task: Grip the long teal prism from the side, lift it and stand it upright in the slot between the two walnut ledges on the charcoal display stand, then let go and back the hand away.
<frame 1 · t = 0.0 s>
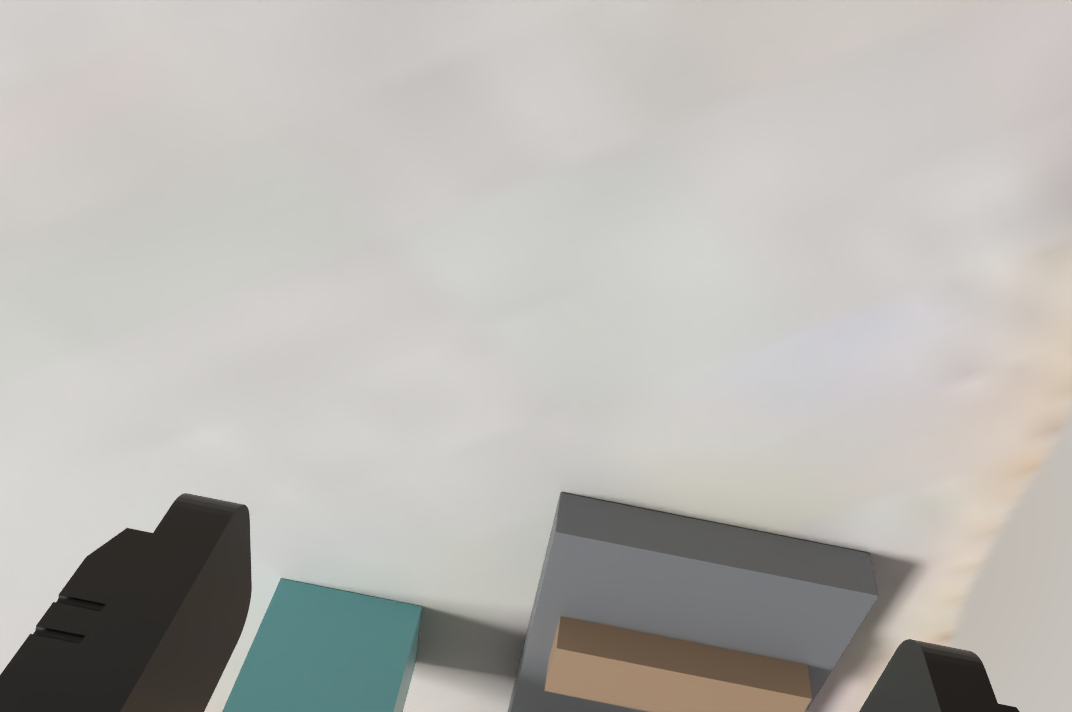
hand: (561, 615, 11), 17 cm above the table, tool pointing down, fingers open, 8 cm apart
display stand: (649, 681, 41), on the table
long teal prism: (350, 621, 41), on the table
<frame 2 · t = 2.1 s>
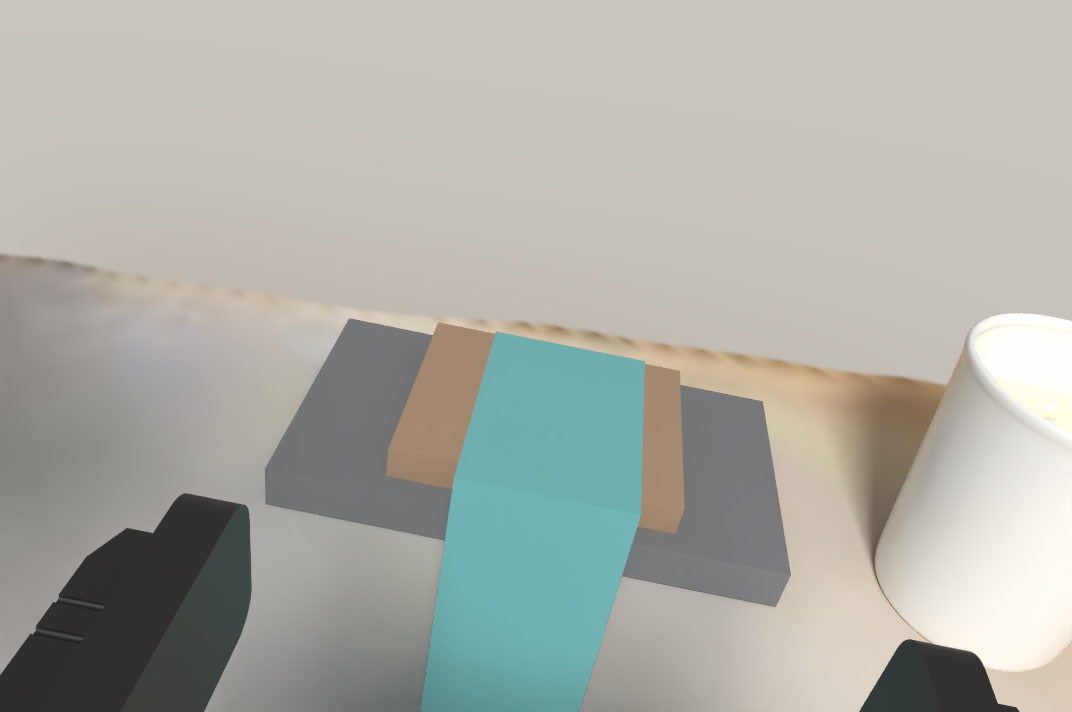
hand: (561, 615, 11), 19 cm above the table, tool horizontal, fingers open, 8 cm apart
display stand: (536, 463, 43), on the table
candle holder: (962, 597, 40), on the table
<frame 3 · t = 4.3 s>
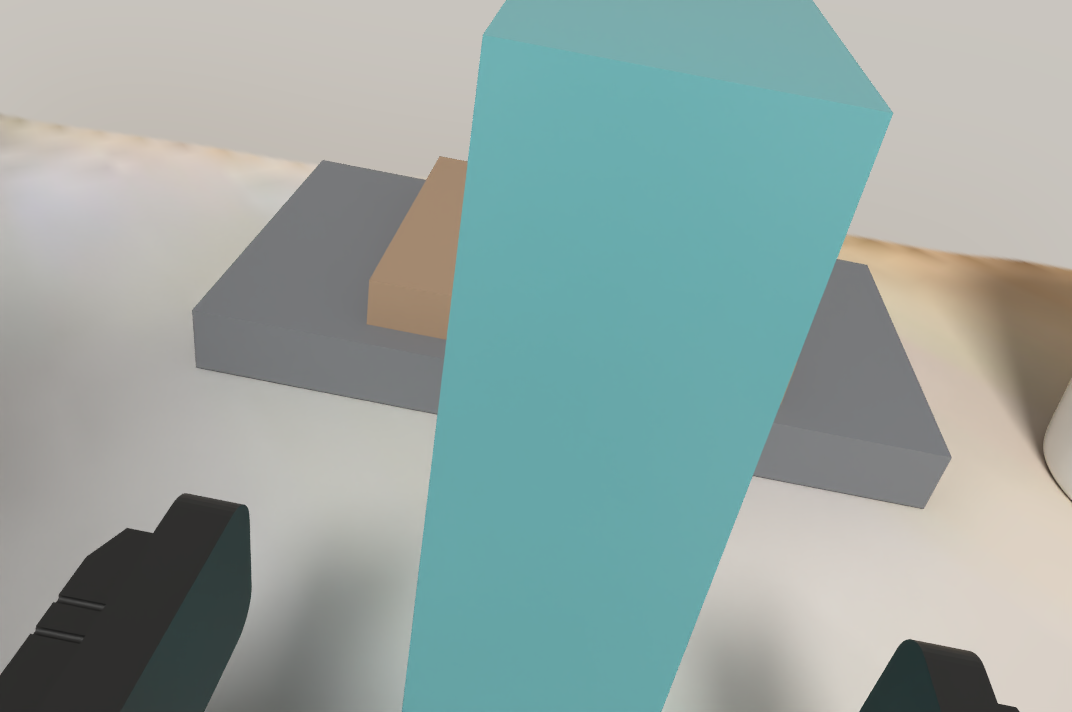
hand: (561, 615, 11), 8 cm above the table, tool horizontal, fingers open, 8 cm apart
display stand: (574, 332, 31), on the table
long teal prism: (526, 660, 20), on the table
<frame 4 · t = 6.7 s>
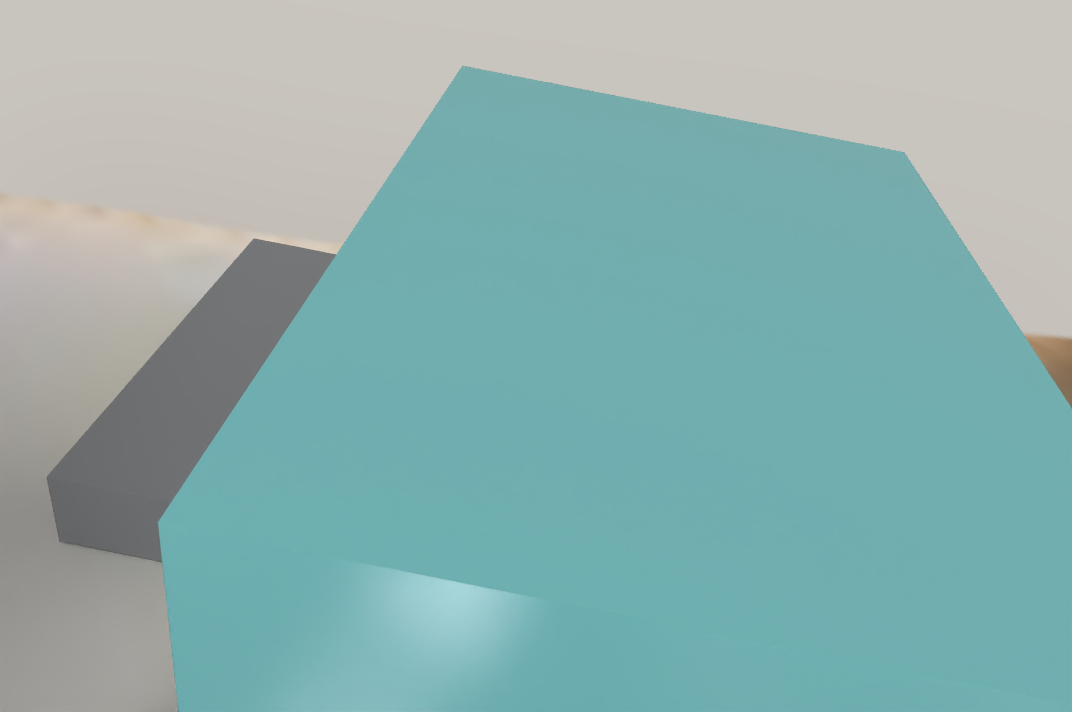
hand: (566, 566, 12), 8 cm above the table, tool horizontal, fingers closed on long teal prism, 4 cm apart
display stand: (552, 465, 25), on the table
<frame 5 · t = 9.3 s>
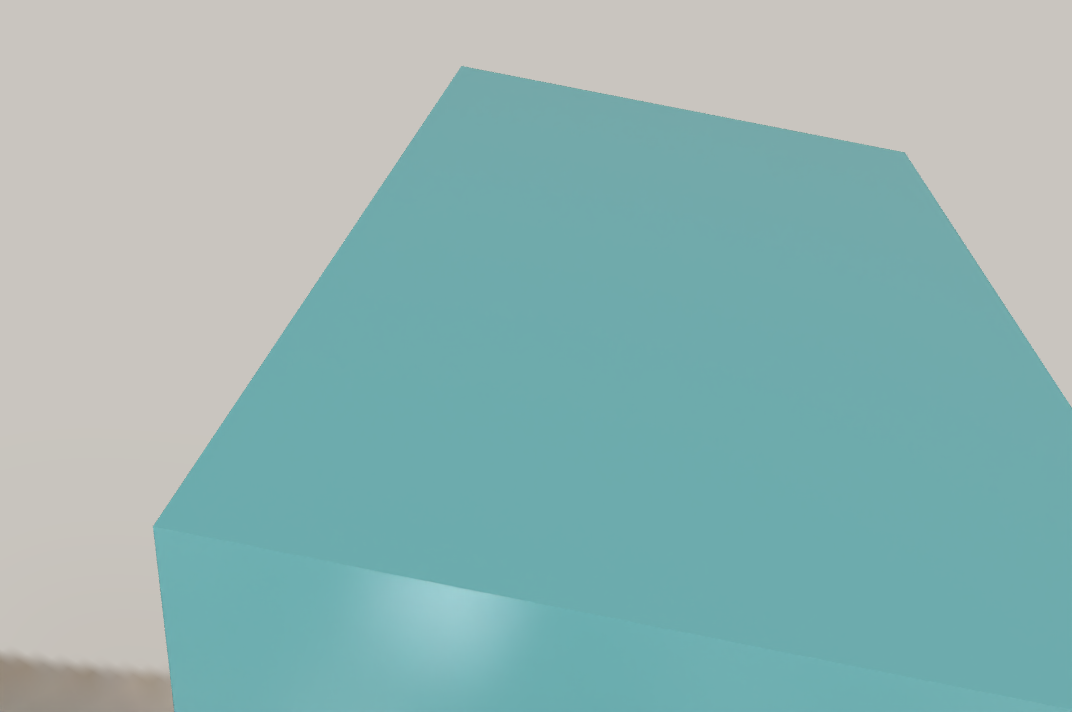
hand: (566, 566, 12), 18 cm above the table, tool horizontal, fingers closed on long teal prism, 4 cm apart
when the fingers open (11 cm above the table, at t = 11.9 s): long teal prism drops 1 cm, resting on display stand.
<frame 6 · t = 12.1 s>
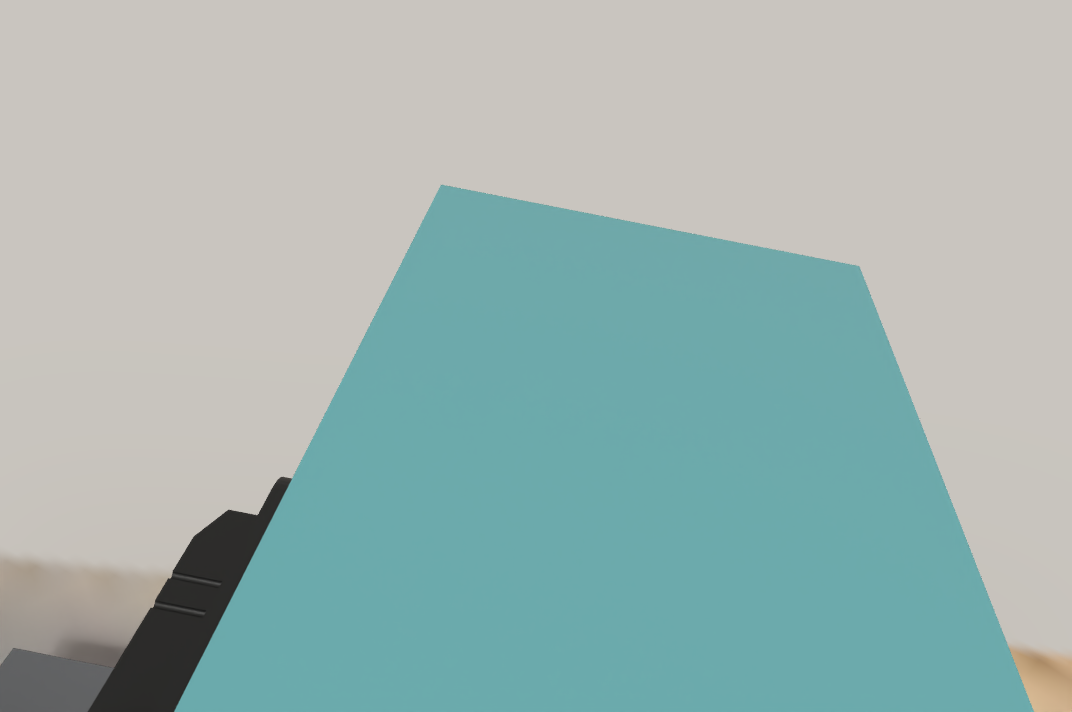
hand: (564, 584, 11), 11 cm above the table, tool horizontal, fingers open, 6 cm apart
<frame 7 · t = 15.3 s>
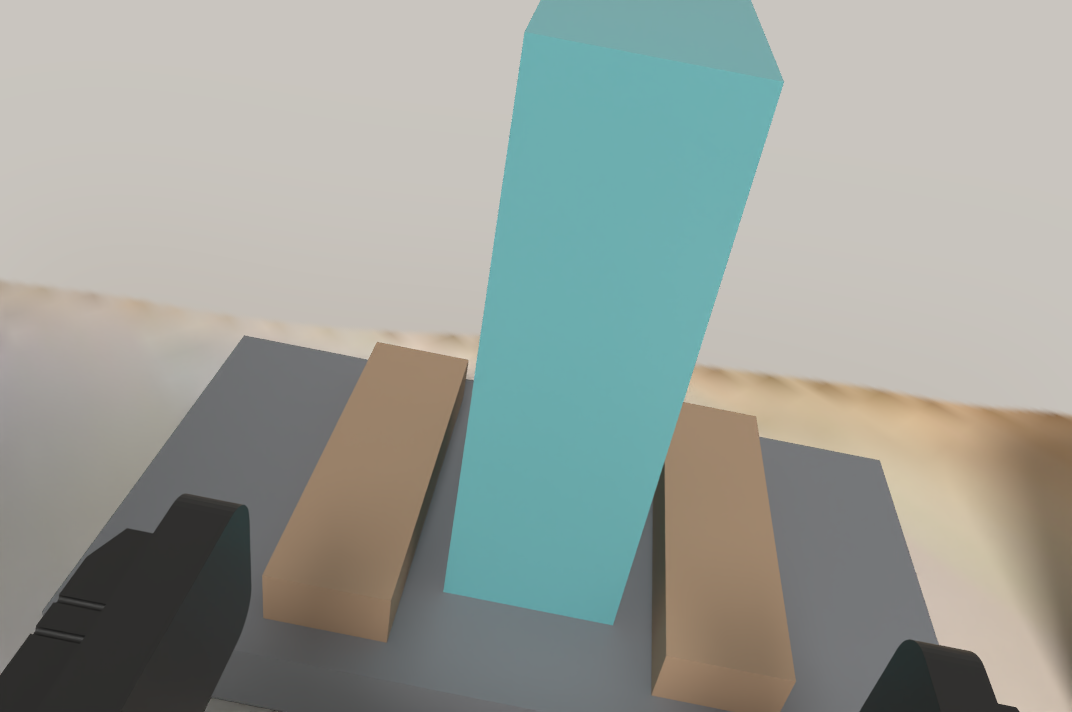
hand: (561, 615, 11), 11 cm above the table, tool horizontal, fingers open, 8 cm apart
display stand: (531, 569, 26), on the table
long teal prism: (541, 520, 25), point 2 cm above the table, touching display stand
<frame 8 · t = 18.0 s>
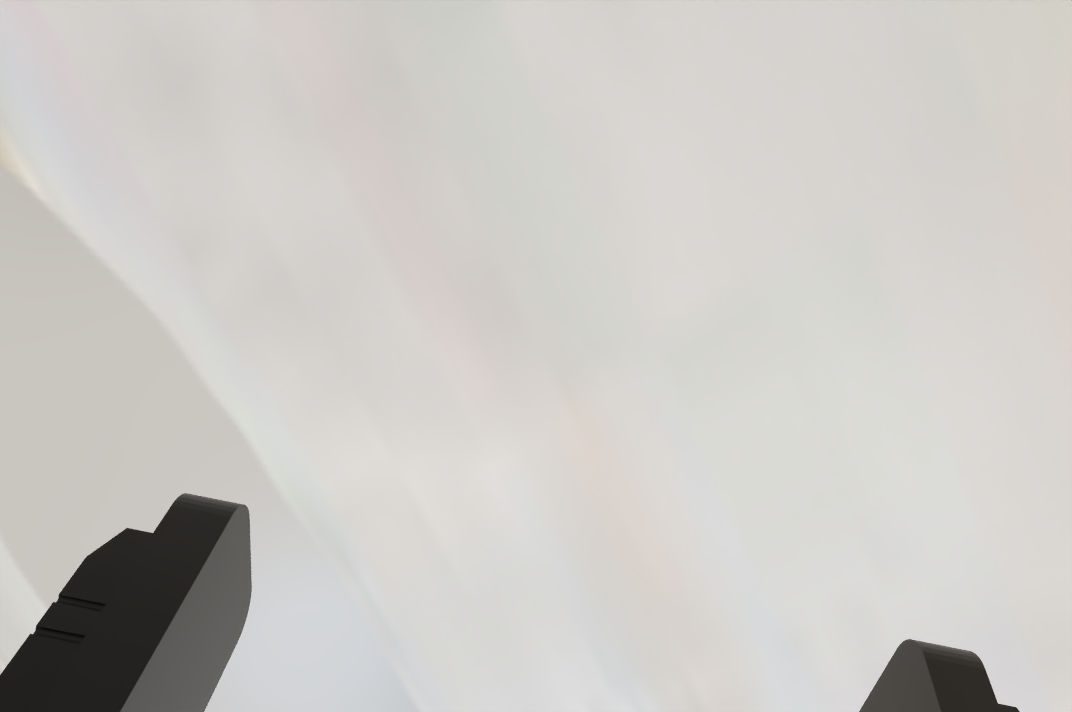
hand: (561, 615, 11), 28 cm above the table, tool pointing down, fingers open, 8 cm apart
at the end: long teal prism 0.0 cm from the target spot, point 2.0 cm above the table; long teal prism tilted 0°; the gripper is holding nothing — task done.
